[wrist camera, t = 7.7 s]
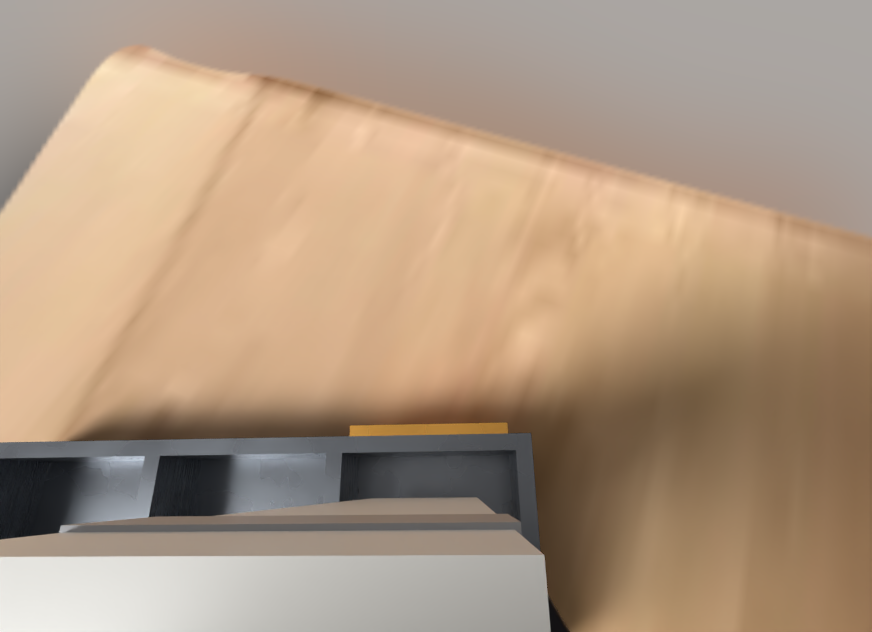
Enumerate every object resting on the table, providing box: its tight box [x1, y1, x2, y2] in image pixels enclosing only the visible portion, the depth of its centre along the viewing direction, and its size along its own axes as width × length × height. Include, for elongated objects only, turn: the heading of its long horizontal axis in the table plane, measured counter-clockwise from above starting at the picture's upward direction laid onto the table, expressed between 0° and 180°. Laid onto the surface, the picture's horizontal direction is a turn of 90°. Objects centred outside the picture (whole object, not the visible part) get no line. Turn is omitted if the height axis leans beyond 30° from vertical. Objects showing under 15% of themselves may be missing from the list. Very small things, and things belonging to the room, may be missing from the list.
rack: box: [0, 423, 540, 551], centre depth 18 cm, size 22×9×4 cm, turn 91°
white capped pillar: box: [0, 497, 551, 632], centre depth 8 cm, size 4×4×14 cm
